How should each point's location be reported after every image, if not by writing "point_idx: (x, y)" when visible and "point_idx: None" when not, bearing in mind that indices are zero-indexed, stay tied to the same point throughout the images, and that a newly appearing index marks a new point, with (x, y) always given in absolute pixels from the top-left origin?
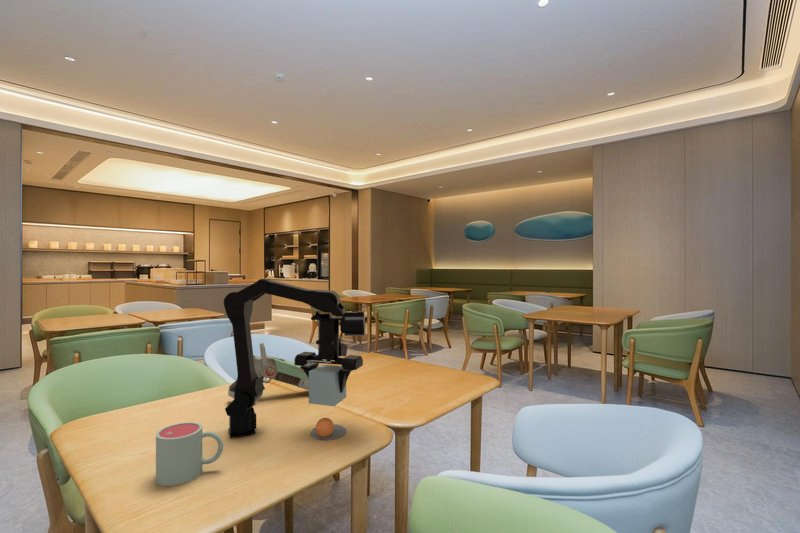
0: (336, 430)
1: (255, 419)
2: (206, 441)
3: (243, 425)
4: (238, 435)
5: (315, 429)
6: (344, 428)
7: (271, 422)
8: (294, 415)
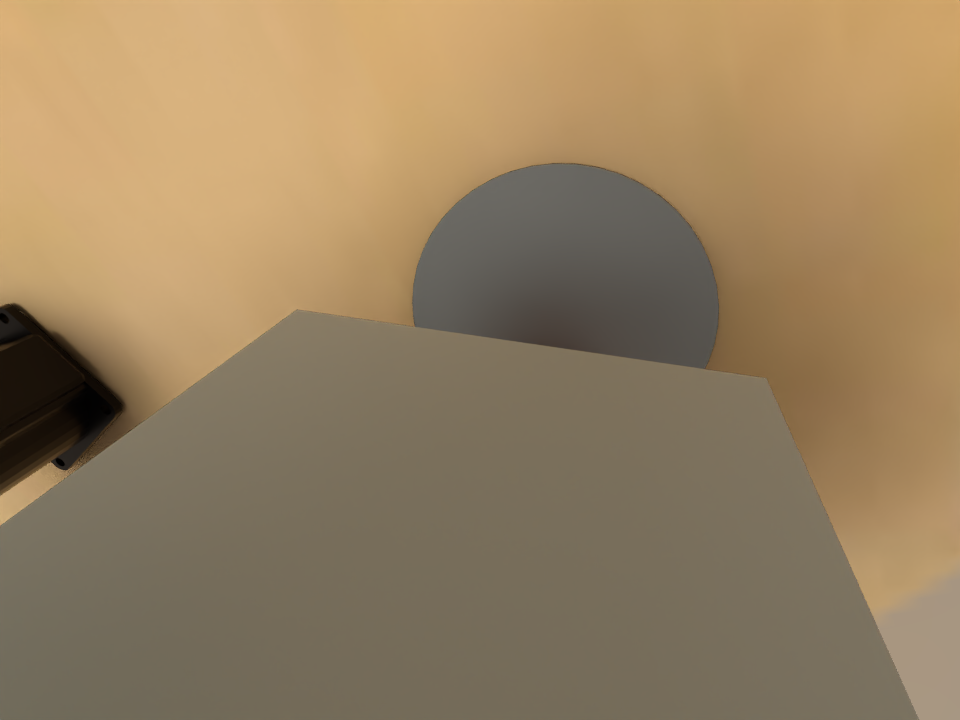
0: (617, 293)
1: (26, 415)
2: (11, 488)
3: (38, 469)
4: (79, 454)
5: (434, 302)
6: (683, 239)
7: (55, 213)
8: (82, 6)
